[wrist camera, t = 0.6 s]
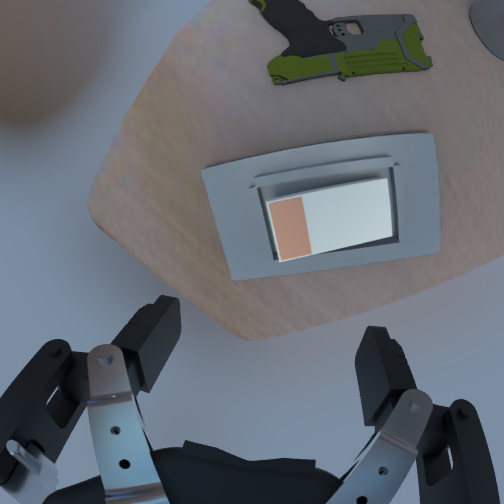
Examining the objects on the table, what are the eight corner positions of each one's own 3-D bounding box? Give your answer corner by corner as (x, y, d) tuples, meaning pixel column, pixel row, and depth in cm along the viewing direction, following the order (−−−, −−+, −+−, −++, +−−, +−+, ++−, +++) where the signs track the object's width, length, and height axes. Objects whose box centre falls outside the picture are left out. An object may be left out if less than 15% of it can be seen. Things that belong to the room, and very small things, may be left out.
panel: (426, 132, 24) (441, 133, 20) (433, 245, 29) (445, 259, 25) (207, 167, 31) (193, 172, 27) (236, 273, 36) (228, 289, 32)
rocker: (382, 176, 24) (387, 178, 23) (387, 232, 26) (392, 236, 25) (265, 199, 25) (265, 202, 24) (278, 257, 27) (279, 262, 26)
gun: (386, -24, 16) (430, 75, 21) (240, -5, 21) (277, 96, 26) (391, -32, 13) (439, 72, 19) (235, -14, 19) (275, 93, 24)
